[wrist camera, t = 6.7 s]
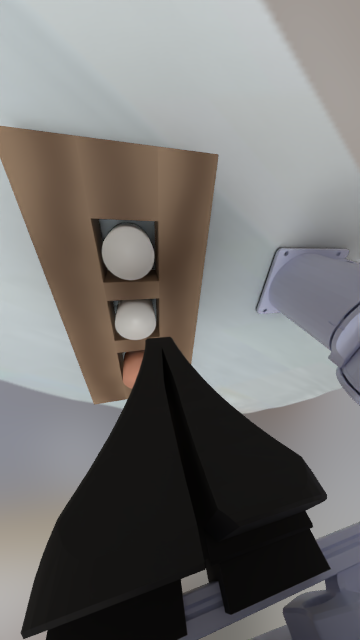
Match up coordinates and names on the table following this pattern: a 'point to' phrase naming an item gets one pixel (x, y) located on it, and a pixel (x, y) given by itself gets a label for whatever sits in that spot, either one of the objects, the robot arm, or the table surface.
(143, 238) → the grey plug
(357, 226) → the table surface
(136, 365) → the terracotta plug
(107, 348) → the walnut board
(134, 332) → the grey plug middle
